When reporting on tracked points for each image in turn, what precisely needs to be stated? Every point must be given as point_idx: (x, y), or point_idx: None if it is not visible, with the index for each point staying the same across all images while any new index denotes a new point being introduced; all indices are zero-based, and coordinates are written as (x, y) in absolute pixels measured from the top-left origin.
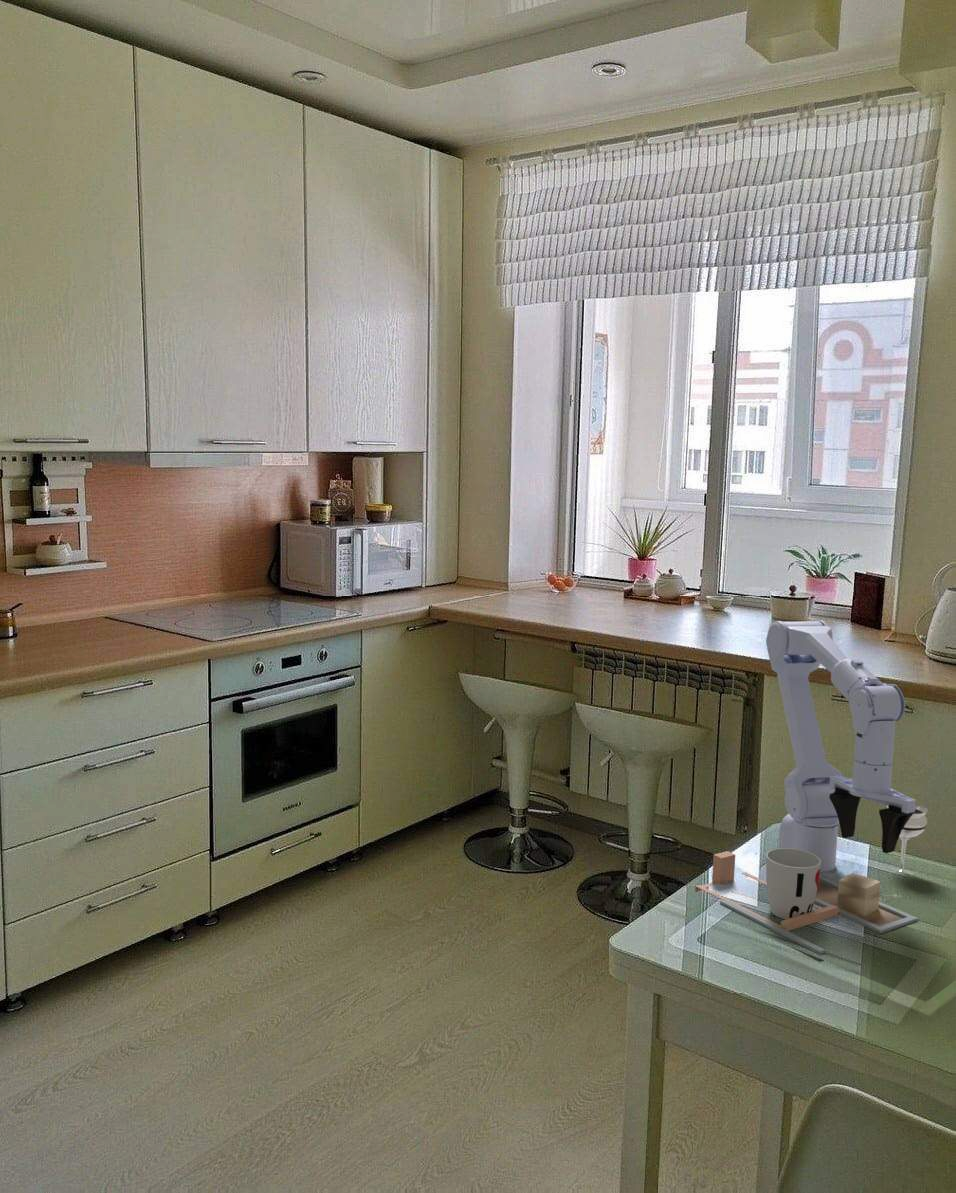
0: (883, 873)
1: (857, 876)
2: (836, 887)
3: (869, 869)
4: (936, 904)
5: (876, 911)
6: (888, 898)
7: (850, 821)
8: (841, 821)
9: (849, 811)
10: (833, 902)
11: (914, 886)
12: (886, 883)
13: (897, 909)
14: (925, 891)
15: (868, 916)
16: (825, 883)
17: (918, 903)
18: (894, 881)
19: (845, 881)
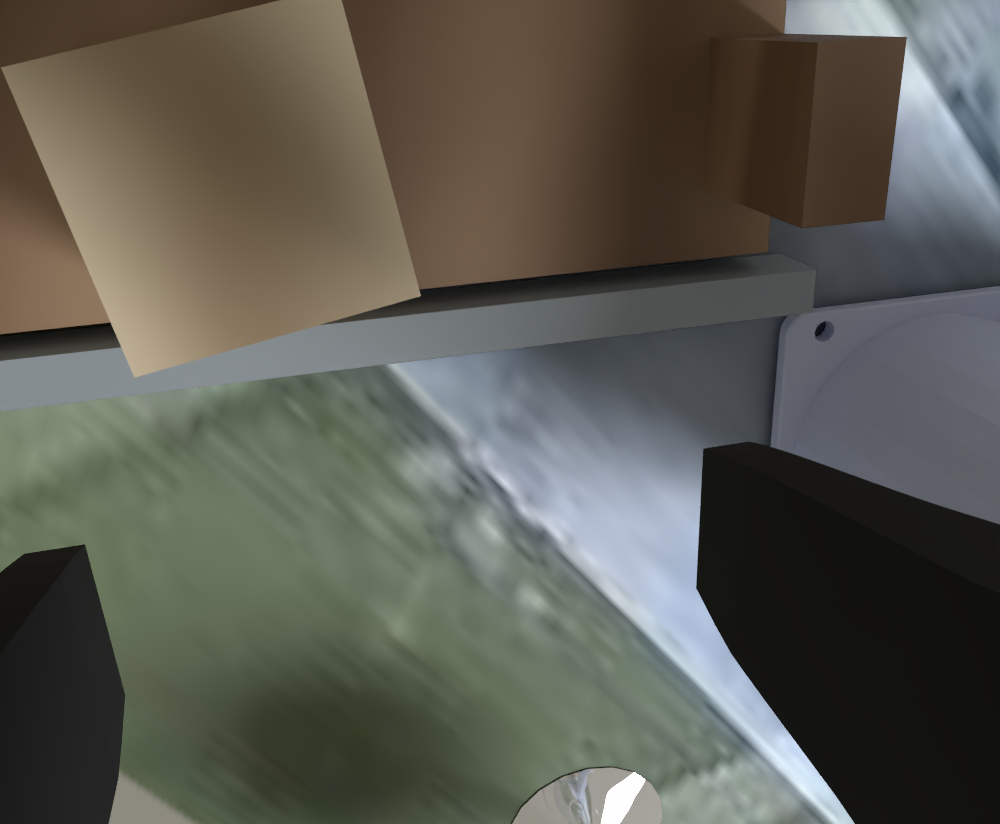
0: (645, 760)
1: (327, 257)
2: (590, 292)
3: (721, 728)
4: (188, 755)
5: None
6: (378, 560)
7: (819, 661)
8: (886, 515)
9: (943, 758)
10: (407, 49)
11: (439, 799)
12: (544, 691)
13: (59, 398)
14: (361, 810)
15: None
16: (683, 278)
17: (242, 673)
18: (541, 746)
19: (273, 21)
